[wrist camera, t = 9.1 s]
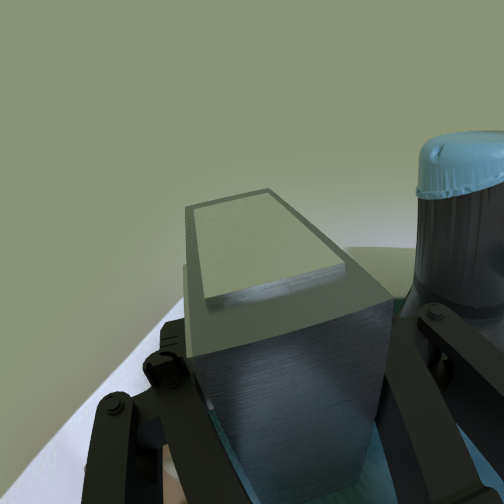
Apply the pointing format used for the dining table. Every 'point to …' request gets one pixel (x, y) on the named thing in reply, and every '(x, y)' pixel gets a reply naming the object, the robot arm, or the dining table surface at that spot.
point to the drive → (285, 343)
